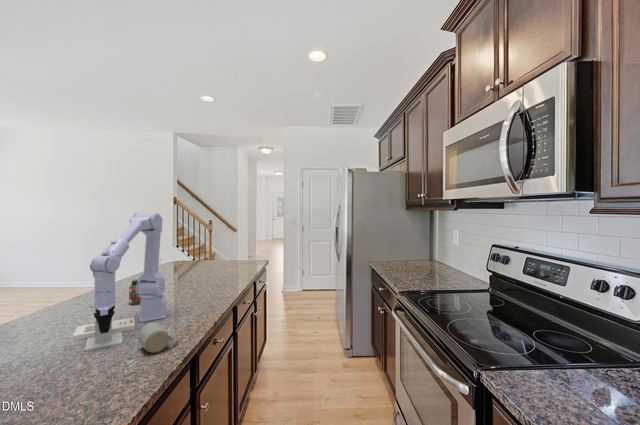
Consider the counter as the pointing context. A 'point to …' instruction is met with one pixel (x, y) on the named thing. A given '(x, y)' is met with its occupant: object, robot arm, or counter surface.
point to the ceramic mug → (155, 338)
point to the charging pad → (91, 342)
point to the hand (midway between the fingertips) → (104, 330)
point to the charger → (103, 336)
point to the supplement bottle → (134, 294)
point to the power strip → (116, 328)
